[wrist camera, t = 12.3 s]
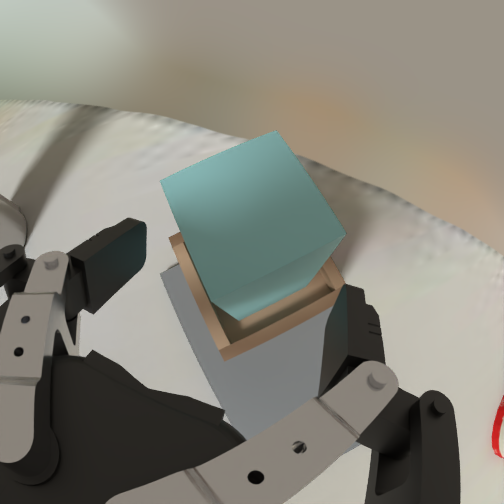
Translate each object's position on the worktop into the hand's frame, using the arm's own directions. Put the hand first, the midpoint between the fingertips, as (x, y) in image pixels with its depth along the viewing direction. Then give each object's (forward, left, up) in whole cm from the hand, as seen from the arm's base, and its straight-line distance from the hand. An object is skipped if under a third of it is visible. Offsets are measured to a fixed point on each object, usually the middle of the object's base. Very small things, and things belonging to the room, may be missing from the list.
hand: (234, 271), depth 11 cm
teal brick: (-2, +1, -8) cm, 9 cm away
